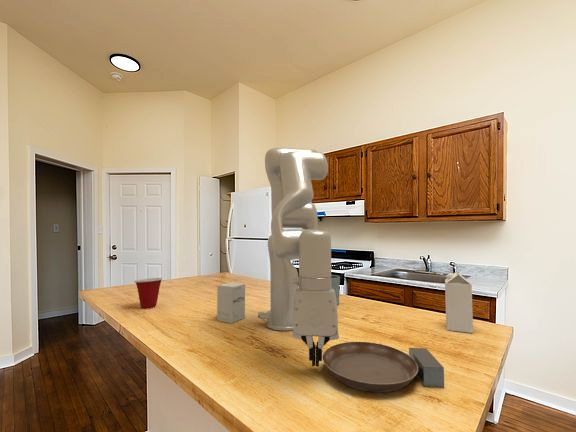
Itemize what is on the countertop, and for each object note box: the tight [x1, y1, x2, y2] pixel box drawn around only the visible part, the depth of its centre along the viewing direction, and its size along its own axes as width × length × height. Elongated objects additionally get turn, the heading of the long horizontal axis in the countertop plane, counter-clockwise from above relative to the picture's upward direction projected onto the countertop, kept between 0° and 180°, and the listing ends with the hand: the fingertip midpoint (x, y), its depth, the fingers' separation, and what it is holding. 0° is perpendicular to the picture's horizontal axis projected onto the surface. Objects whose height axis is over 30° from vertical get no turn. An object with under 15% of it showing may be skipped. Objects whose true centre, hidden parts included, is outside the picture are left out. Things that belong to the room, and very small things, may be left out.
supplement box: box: [216, 282, 246, 324], centre depth 109 cm, size 7×7×13 cm
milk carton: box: [444, 268, 474, 334], centre depth 98 cm, size 7×7×19 cm
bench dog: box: [408, 347, 445, 388], centre depth 66 cm, size 4×10×4 cm, turn 174°
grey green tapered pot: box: [331, 274, 341, 307], centre depth 130 cm, size 10×10×12 cm
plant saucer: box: [322, 341, 418, 393], centre depth 68 cm, size 21×21×3 cm
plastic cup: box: [134, 277, 163, 310], centre depth 127 cm, size 11×11×12 cm
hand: (315, 363), depth 69 cm, fingers closed
